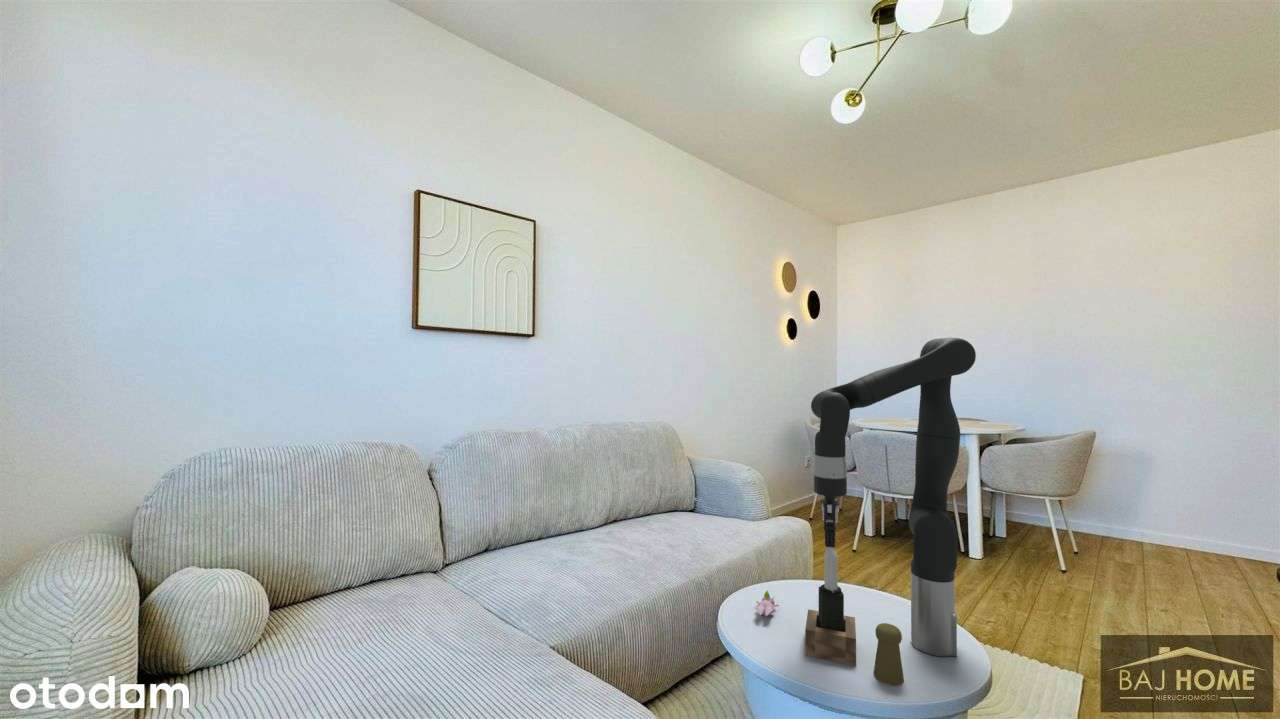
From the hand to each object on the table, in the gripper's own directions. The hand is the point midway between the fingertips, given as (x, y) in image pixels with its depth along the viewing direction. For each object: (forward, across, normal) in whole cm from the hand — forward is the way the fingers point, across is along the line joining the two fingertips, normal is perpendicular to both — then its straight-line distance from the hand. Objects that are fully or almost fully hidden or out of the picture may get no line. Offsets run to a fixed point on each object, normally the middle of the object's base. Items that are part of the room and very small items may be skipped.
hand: (830, 541), depth 123 cm
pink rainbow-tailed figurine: (+26, +12, +17) cm, 33 cm away
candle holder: (+26, 0, 0) cm, 26 cm away
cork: (+26, -8, -12) cm, 29 cm away
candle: (+25, 0, 0) cm, 25 cm away
